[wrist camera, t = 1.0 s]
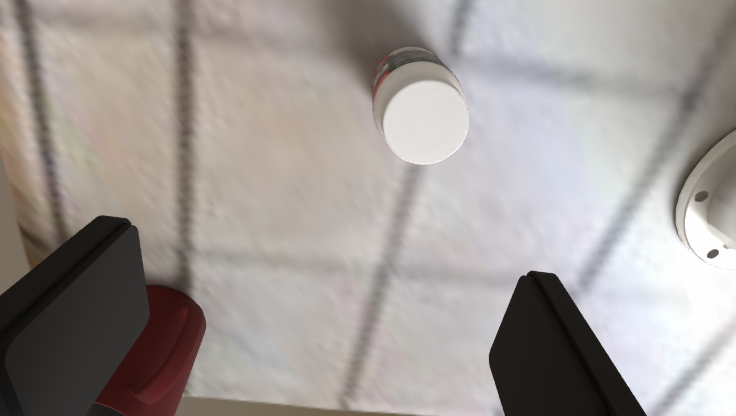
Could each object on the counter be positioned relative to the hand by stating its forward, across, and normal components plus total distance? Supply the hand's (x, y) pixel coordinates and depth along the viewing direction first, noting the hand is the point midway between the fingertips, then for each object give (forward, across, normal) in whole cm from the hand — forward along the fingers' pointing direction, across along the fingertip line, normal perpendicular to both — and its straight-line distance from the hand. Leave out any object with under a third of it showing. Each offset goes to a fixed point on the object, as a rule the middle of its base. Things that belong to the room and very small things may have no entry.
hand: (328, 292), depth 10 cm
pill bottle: (+19, -3, -2) cm, 19 cm away
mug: (+19, +13, +20) cm, 30 cm away
